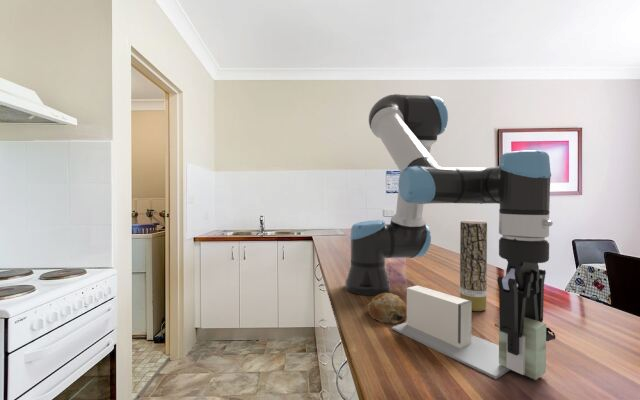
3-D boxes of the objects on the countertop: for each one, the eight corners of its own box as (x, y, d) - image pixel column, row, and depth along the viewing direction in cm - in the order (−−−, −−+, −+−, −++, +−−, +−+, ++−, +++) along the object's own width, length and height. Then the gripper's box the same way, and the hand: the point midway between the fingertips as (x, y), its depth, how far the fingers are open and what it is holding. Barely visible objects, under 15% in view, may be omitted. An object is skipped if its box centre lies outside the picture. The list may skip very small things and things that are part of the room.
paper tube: (489, 313, 83) (490, 222, 83) (463, 311, 84) (463, 221, 84) (481, 304, 90) (482, 220, 89) (457, 302, 91) (457, 219, 91)
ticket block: (392, 329, 73) (392, 289, 73) (424, 318, 79) (424, 281, 79) (496, 379, 53) (496, 324, 53) (526, 358, 59) (527, 310, 59)
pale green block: (498, 363, 56) (499, 317, 56) (509, 357, 58) (509, 312, 58) (535, 380, 51) (536, 328, 51) (545, 372, 53) (546, 323, 53)
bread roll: (379, 338, 76) (388, 314, 73) (358, 309, 84) (365, 286, 81) (409, 330, 80) (419, 307, 77) (386, 303, 88) (394, 281, 85)
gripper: (524, 244, 47) (523, 394, 47) (566, 236, 56) (565, 361, 56) (476, 238, 53) (475, 371, 53) (521, 232, 62) (520, 345, 63)
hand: (521, 366), depth 55 cm, fingers closed on pale green block, 4 cm apart
